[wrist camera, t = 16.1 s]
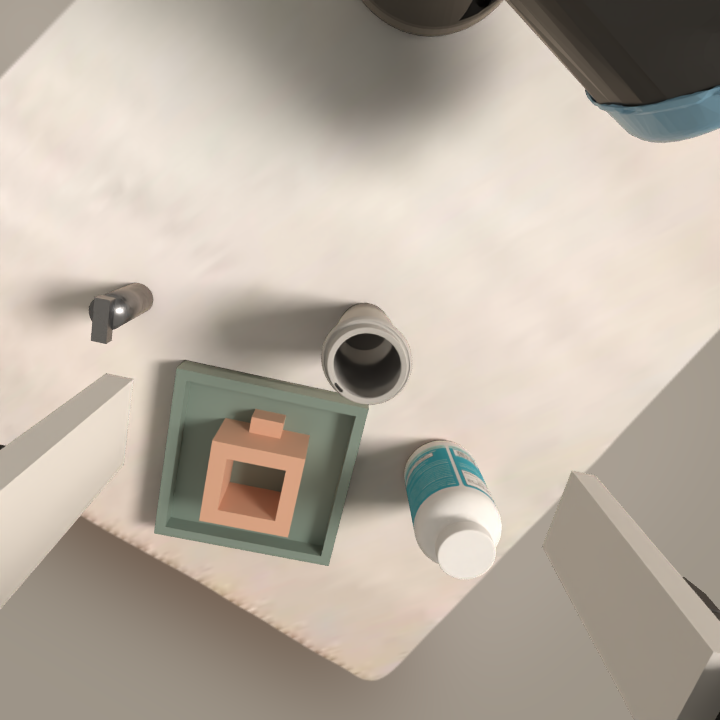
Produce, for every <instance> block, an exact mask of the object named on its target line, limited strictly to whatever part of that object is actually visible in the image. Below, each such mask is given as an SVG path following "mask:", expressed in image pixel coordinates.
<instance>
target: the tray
mask: <svg viewBox="0 0 720 720" xmlns="http://www.w3.org/2000/svg"><path fill="white" fill-rule="evenodd" d="M255 409H259V410H264V411H269V412H274V413H278V414H283V415H286V418H285V422H284V427H283V430H287V431H292V432H296V433H301V434H306V435H310V438H309V443H308V448H307V454H306V459H305V464H304V468H303V473H302V477H301V482H300V486H299V491H298V495H297V499H296V504H295V508H294V513H293V517H292V522H291V526H290V531H289V535H288V537H282V536H277V535H272V534H267V533H261V532H256V531H251V530H246V529H240V528H235V527H230V526H225V525H220V524H214V523H209V522H204V521H199V518H200V512H201V506H202V500H203V494H204V488H205V482H206V476H207V470H208V463H209V457H210V451H211V445H212V440H213V438H214V437H215V435H216V433H217V432H218V430H219V428H220V426H221V425H222V423H223V421H224V419H225V418H228V419H233V420H238V421H243V422H248V423H251V418H252V415H253V413H254V411H255ZM368 410H369V406H368V405H366V404H359V403H355V402H352V401H350V400H348V399H346V398H344V397H343V396H342V395H340V394H339V393H337V392H332V391H328V390H323V389H318V388H314V387H309V386H304V385H300V384H295V383H290V382H285V381H281V380H276V379H271V378H267V377H262V376H257V375H253V374H248V373H243V372H239V371H234V370H229V369H225V368H220V367H215V366H210V365H206V364H201V363H196V362H192V361H187V360H185V361H184V362H182V363H181V364H180V365H179V366H178V367H177V369H176V376H175V384H174V391H173V398H172V406H171V413H170V420H169V428H168V435H167V442H166V450H165V457H164V464H163V472H162V479H161V486H160V494H159V501H158V508H157V516H156V523H155V530H154V533H155V534H161V535H166V536H171V537H177V538H182V539H187V540H193V541H198V542H203V543H209V544H214V545H219V546H225V547H230V548H235V549H240V550H246V551H251V552H256V553H262V554H267V555H272V556H278V557H283V558H288V559H294V560H299V561H304V562H310V563H315V564H320V565H326V566H329V562H330V558H331V554H332V551H333V547H334V543H335V539H336V535H337V531H338V527H339V523H340V519H341V515H342V511H343V507H344V504H345V500H346V496H347V492H348V488H349V484H350V480H351V476H352V472H353V468H354V464H355V460H356V457H357V453H358V449H359V445H360V441H361V437H362V433H363V429H364V425H365V421H366V417H367V413H368ZM285 473H286V471H285V470H280V469H275V468H270V467H265V466H260V465H255V464H250V463H245V462H240V461H235V460H234V461H233V466H232V472H231V478H230V482H232V483H237V484H242V485H247V486H252V487H258V488H263V489H268V490H273V491H278V492H281V491H282V487H283V482H284V477H285Z"/></svg>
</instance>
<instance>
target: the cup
mask: <svg viewBox="0 0 720 720" xmlns="http://www.w3.org/2000/svg"><path fill="white" fill-rule="evenodd" d="M321 362H322V368H323V371H324V374H325V376H326V378H327V380H328V382H329V383H330V385H331V386H332V387H333V388H334V389H335V390H336V391H337V392H338V393H339V394H340V395H342V396H343V397H344V398H346V399H348V400H350V401H352V402H355V403H359V404H366V405H375V404H380V403H383V402H386V401H389V400H390V399H392V398H394V397H395V396H396V395H398V394H399V393H400V392H401V391H402V389H403V388H404V387H405V386H406V384H407V382H408V380H409V378H410V375H411V371H412V354H411V350H410V347H409V345H408V342H407V341H406V339H405V337H404V336H403V335H402V333H401V332H400V331H399V330H398V329H397V328H396V327H394V326H393V324H392V323H391V321H390V319H389V318H388V317H387V316H386V314H385V313H384V312H383V311H382V310H381V309H380V308H379V307H377V306H375V305H373V304H369V303H360V304H356V305H354V306H352V307H350V308H349V309H348V310H347V311H346V312H345V313H344V315H343V316H342V317H341V319H340V320H339V322H338V324H337V325H336V326H335V327H334V328H333V329H332V330H331V331H330V333H329V334H328V335H327V337H326V339H325V341H324V344H323V347H322V353H321Z"/></svg>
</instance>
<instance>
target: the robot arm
mask: <svg viewBox="0 0 720 720" xmlns="http://www.w3.org/2000/svg"><path fill="white" fill-rule="evenodd" d="M362 1H363V3H364V4H365V5H366V6H367V7H368V8H369V9H370V10H371V11H372V12H373V13H374V14H375V15H376V16H378V17H379V18H380V19H382V20H383V21H384V22H386V23H388V24H389V25H391V26H393V27H395V28H397V29H399V30H402V31H404V32H408V33H411V34H416V35H422V36H440V35H447V34H452V33H455V32H459V31H461V30H464V29H466V28H468V27H470V26H472V25H474V24H476V23H478V22H479V21H481V20H482V19H484V18H485V17H486V16H488V15H489V14H490V13H491V12H492V11H493V10H494V9H496V8H497V7H498V6H499V4H500V3H501V2H502V1H503V0H362ZM506 2H507V3H508V4H509V5H510V6H511V7H512V8H513V9H514V10H515V12H516V13H517V14H518V15H519V16H520V17H521V18H522V19H523V20H524V22H525V23H526V24H527V25H528V26H529V27H530V28H531V29H532V30H533V31H534V33H535V34H536V35H537V36H538V37H539V38H540V39H541V40H542V41H543V43H544V44H545V45H546V46H547V47H548V48H549V49H550V50H551V51H552V52H553V54H554V55H555V56H556V57H557V58H558V59H559V60H560V61H561V62H562V64H563V65H564V66H565V67H566V68H567V69H568V70H569V71H570V72H571V74H572V75H573V76H574V77H575V78H576V79H577V80H578V81H579V82H580V83H581V85H582V86H583V87H584V88H585V92H586V95H587V97H588V99H589V100H590V101H591V102H592V103H593V104H594V105H596V106H598V107H599V108H600V109H602V110H604V111H607V112H608V113H609V114H610V115H611V116H612V117H613V118H614V119H615V120H616V121H617V122H618V123H619V124H620V125H621V126H622V127H623V128H624V129H625V130H626V131H627V132H628V133H629V134H631V135H632V136H635V137H637V138H639V139H641V140H644V141H648V142H654V143H666V142H675V141H681V140H686V139H690V138H694V137H697V136H700V135H703V134H706V133H709V132H711V131H714V130H717V129H719V128H720V0H506ZM132 388H133V379H131V378H126V377H121V376H116V375H112V374H107V373H106V374H105V375H103V376H102V377H100V378H99V379H98V380H96V381H95V382H94V383H92V384H91V385H89V386H88V387H87V388H85V389H84V390H82V391H81V392H80V393H78V394H77V395H76V396H74V397H73V398H71V399H70V400H69V401H67V402H66V403H65V404H63V405H62V406H60V407H59V408H58V409H56V410H55V411H53V412H52V413H51V414H49V415H48V416H47V417H45V418H44V419H42V420H41V421H40V422H38V423H37V424H35V425H34V426H33V427H31V428H30V429H29V430H27V431H26V432H24V433H23V434H22V435H20V436H19V437H18V438H16V439H15V440H13V441H12V442H11V443H9V444H8V445H6V446H4V445H0V609H1V608H2V607H3V606H4V604H5V603H6V602H7V601H8V600H9V599H10V597H11V596H12V595H13V594H14V593H15V592H16V590H17V589H18V588H19V587H20V586H21V585H22V583H23V582H24V581H25V580H26V579H27V577H28V576H29V575H30V574H31V573H32V572H33V570H34V569H35V568H36V567H37V566H38V565H39V563H40V562H41V561H42V560H43V559H44V558H45V556H46V555H47V554H48V553H49V552H50V550H51V549H52V548H53V547H54V546H55V545H56V543H57V542H58V541H59V540H60V539H61V538H62V536H63V535H64V534H65V533H66V532H67V531H68V529H69V528H70V527H71V526H72V524H74V522H75V521H76V520H77V519H78V518H79V516H80V515H81V514H82V513H83V512H84V511H85V509H86V508H87V507H88V506H89V505H90V504H91V502H92V501H93V500H94V499H95V498H96V497H97V495H98V494H99V493H100V492H101V491H102V490H103V488H104V487H105V486H106V485H107V484H108V482H109V481H110V480H111V479H112V478H113V477H114V475H115V474H116V473H117V472H118V471H119V470H120V468H121V467H122V466H123V465H124V460H125V451H126V442H127V433H128V424H129V415H130V406H131V397H132ZM542 547H543V549H544V551H545V553H546V555H547V557H548V559H549V561H550V562H551V564H552V566H553V568H554V570H555V572H556V574H557V576H558V577H559V579H560V581H561V583H562V585H563V587H564V589H565V591H566V592H567V595H568V596H569V598H570V600H571V602H572V604H573V605H574V608H575V610H576V611H577V613H578V615H579V617H580V619H581V621H582V623H583V625H584V627H585V628H586V630H587V632H588V634H589V636H590V638H591V640H592V641H593V644H594V645H595V647H596V649H597V651H598V653H599V655H600V657H601V659H602V661H603V663H604V664H605V666H606V668H607V670H608V672H609V674H610V676H611V678H612V679H613V681H614V683H615V685H616V687H617V689H618V691H619V693H620V695H621V696H622V698H623V700H624V702H625V704H626V706H627V708H628V710H629V711H630V714H631V715H632V717H633V719H634V720H720V610H719V609H718V608H717V607H716V606H715V605H714V603H713V602H712V601H711V600H710V599H709V598H708V597H707V595H706V594H705V593H704V592H702V591H701V590H700V589H698V588H697V587H696V586H695V585H693V584H692V583H691V582H690V581H688V580H687V579H686V578H685V577H682V576H681V575H680V574H679V573H678V572H677V571H676V569H675V568H674V567H673V566H672V565H671V564H670V562H669V561H668V560H667V559H666V558H665V556H664V555H663V554H662V553H661V552H660V551H659V549H658V548H657V547H656V546H655V545H654V544H653V542H652V541H651V540H650V539H649V538H648V537H647V535H646V534H645V533H644V532H643V531H642V529H641V528H640V527H639V526H638V525H637V524H636V522H635V521H634V520H633V519H632V518H631V517H630V515H629V514H628V513H627V512H626V511H625V510H624V509H623V507H622V506H621V505H620V504H619V503H618V501H617V500H616V499H615V498H614V497H613V495H612V494H611V493H610V492H609V491H608V490H607V489H606V487H605V486H604V485H603V484H602V482H601V481H600V480H599V479H598V478H597V477H596V476H595V475H590V474H585V473H580V472H576V471H572V472H571V474H570V477H569V479H568V482H567V484H566V487H565V489H564V492H563V495H562V497H561V500H560V502H559V505H558V507H557V510H556V512H555V515H554V517H553V520H552V523H551V525H550V528H549V530H548V533H547V536H546V538H545V540H544V543H543V546H542Z"/></svg>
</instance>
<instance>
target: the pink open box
mask: <svg viewBox="0 0 720 720" xmlns="http://www.w3.org/2000/svg"><path fill="white" fill-rule="evenodd" d="M285 418H286V415H283V414H278V413H274V412H269V411H264V410H259V409H255V411H254V413H253V415H252V418H251V423H248V422H243V421H238V420H233V419H228V418H225V419H224V421H223V423H222V425H221V426H220V428H219V430H218V432H217V433H216V435H215V437H214V438H213V440H212V445H211V451H210V457H209V463H208V470H207V476H206V482H205V488H204V494H203V500H202V506H201V512H200V518H199V521H204V522H209V523H214V524H220V525H225V526H230V527H235V528H240V529H246V530H251V531H256V532H261V533H267V534H272V535H277V536H282V537H288V535H289V531H290V526H291V522H292V517H293V513H294V508H295V504H296V499H297V495H298V491H299V486H300V482H301V477H302V473H303V468H304V464H305V459H306V454H307V448H308V443H309V438H310V435H306V434H301V433H296V432H292V431H287V430H283V427H284V422H285ZM234 460H235V461H240V462H245V463H250V464H255V465H260V466H265V467H270V468H275V469H280V470H285V471H286V473H285V477H284V482H283V487H282V491H281V492H278V491H273V490H268V489H263V488H258V487H252V486H247V485H242V484H237V483H232V482H230V478H231V472H232V466H233V461H234Z"/></svg>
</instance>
